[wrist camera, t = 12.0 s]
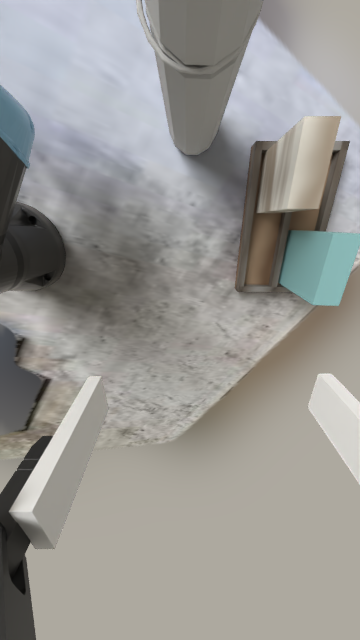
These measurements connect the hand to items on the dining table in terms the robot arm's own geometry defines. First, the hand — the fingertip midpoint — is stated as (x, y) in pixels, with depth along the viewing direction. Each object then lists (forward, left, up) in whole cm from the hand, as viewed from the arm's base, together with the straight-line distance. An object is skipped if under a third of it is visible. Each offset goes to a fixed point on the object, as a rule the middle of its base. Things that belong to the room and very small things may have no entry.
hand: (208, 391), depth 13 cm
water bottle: (-1, +23, -31) cm, 38 cm away
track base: (+15, +9, -30) cm, 35 cm away
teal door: (+18, +4, -29) cm, 34 cm away
